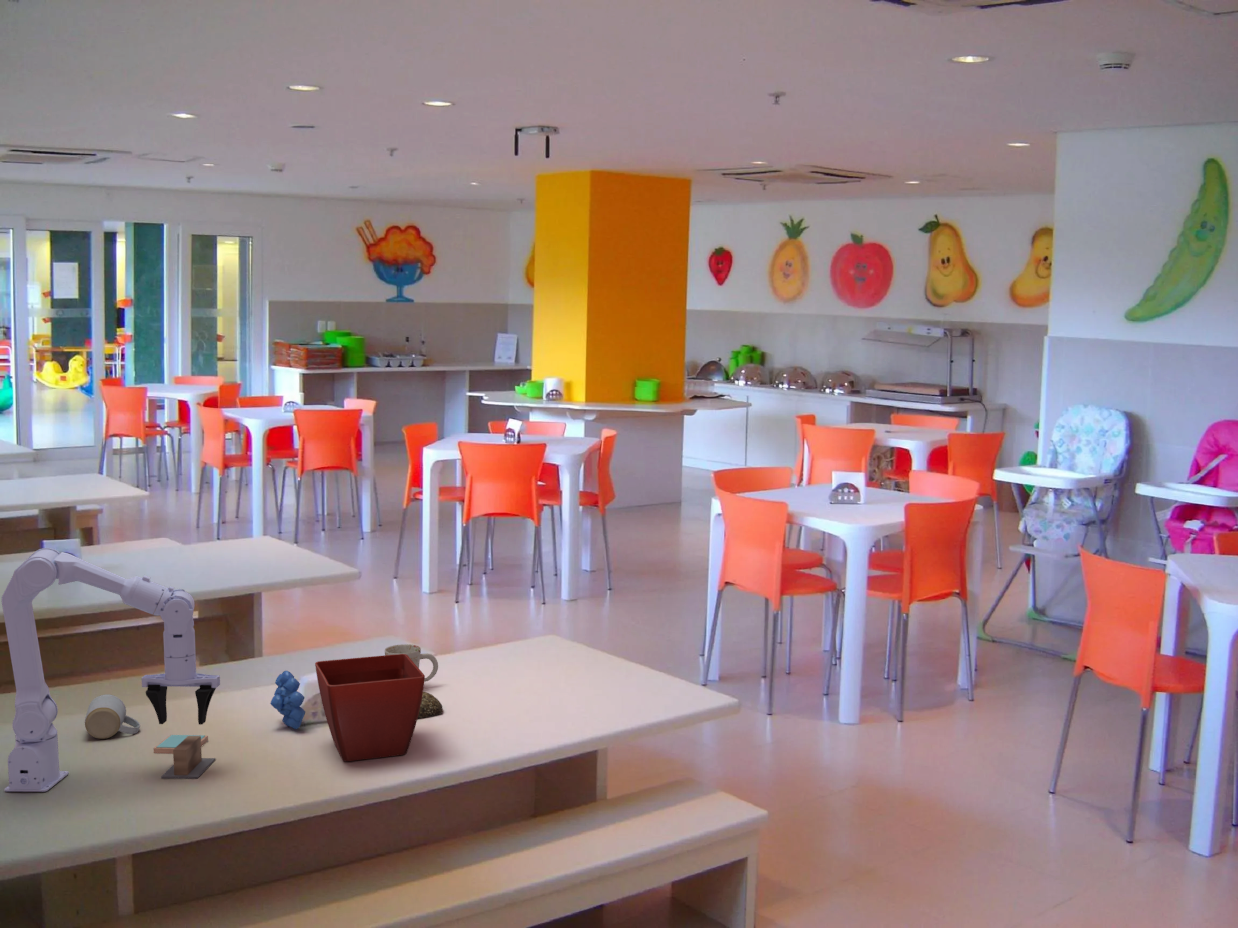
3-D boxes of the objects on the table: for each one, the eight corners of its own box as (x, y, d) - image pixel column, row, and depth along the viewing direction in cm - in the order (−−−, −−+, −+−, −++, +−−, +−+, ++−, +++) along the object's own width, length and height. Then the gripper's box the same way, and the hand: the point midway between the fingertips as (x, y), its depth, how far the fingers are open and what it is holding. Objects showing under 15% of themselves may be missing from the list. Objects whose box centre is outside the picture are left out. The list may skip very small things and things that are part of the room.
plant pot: (408, 728, 269) (406, 651, 267) (427, 758, 251) (426, 675, 249) (316, 739, 262) (314, 660, 260) (330, 770, 244) (327, 686, 242)
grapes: (260, 723, 272) (258, 669, 271) (290, 717, 276) (288, 664, 275) (281, 737, 263) (280, 681, 262) (312, 731, 267) (310, 676, 266)
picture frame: (192, 748, 253) (207, 734, 261) (153, 747, 254) (170, 733, 262) (192, 756, 254) (208, 742, 262) (153, 755, 254) (170, 742, 262)
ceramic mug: (84, 742, 261) (82, 706, 260) (88, 729, 268) (87, 694, 267) (138, 738, 264) (137, 702, 263) (141, 726, 271) (140, 691, 270)
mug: (381, 687, 298) (380, 646, 297) (433, 681, 304) (432, 640, 302) (390, 697, 291) (389, 655, 290) (443, 690, 296) (442, 648, 295)
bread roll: (446, 717, 277) (446, 695, 277) (390, 723, 273) (390, 701, 272) (433, 700, 289) (433, 679, 289) (379, 707, 285) (379, 685, 284)
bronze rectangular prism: (187, 775, 241) (186, 749, 240) (174, 774, 241) (173, 749, 240) (201, 760, 249) (200, 735, 248) (189, 760, 249) (188, 735, 248)
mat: (197, 778, 240) (197, 776, 240) (161, 778, 240) (161, 776, 240) (215, 759, 250) (215, 757, 250) (180, 759, 250) (180, 757, 250)
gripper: (224, 648, 246) (226, 716, 248) (150, 648, 246) (153, 715, 248) (212, 658, 239) (214, 727, 241) (136, 658, 239) (139, 727, 241)
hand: (182, 722), depth 244 cm, fingers open, 7 cm apart
